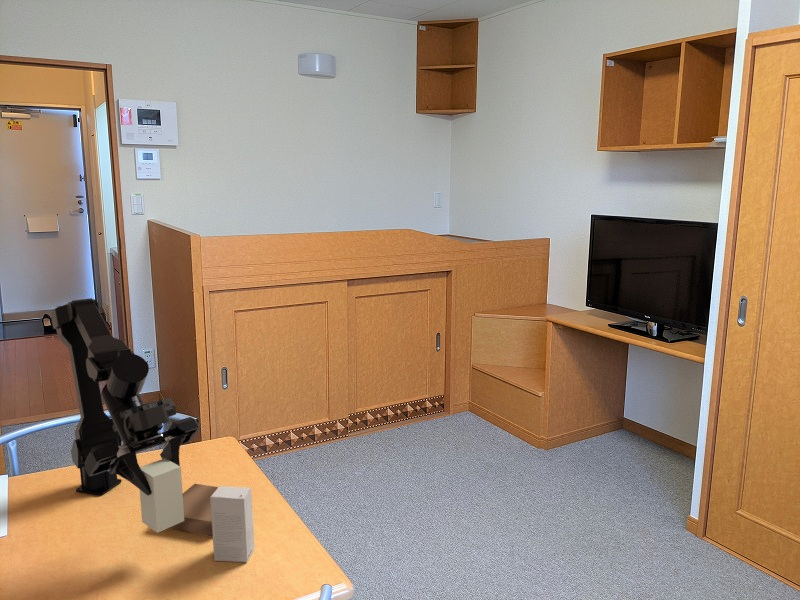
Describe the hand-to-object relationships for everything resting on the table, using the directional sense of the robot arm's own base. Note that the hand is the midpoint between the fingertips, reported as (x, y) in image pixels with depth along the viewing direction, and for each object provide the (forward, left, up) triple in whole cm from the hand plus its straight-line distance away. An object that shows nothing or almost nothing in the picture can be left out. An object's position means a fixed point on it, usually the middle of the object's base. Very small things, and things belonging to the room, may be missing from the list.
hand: (164, 488), depth 111 cm
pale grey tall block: (-1, +1, -7) cm, 7 cm away
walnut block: (-2, +15, -14) cm, 20 cm away
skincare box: (+10, +5, -14) cm, 17 cm away
